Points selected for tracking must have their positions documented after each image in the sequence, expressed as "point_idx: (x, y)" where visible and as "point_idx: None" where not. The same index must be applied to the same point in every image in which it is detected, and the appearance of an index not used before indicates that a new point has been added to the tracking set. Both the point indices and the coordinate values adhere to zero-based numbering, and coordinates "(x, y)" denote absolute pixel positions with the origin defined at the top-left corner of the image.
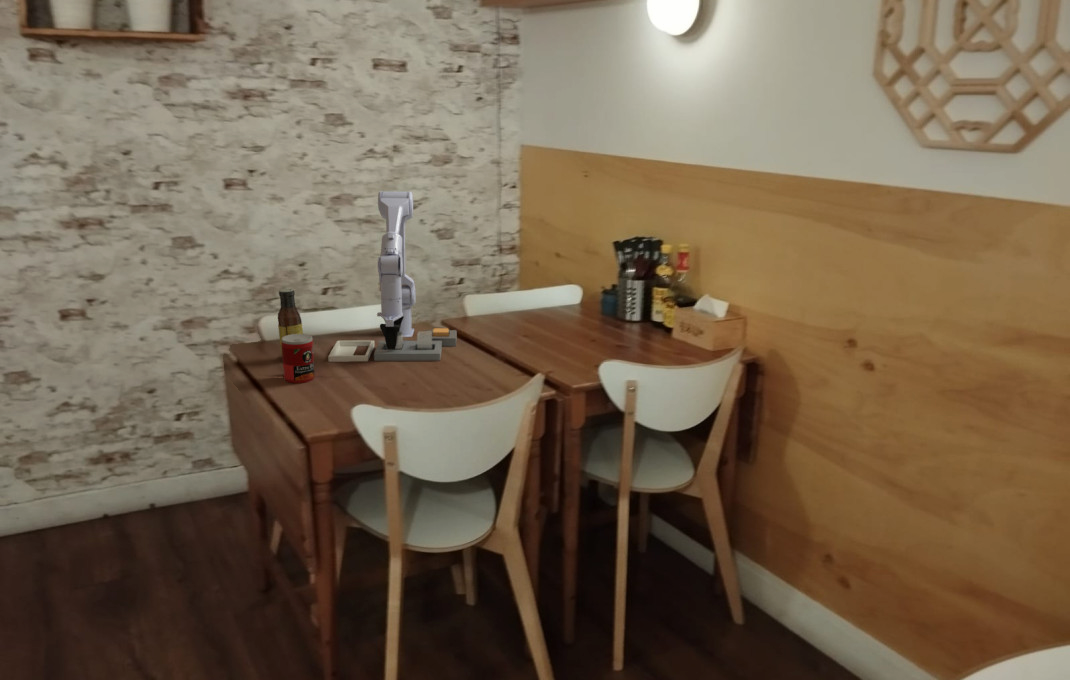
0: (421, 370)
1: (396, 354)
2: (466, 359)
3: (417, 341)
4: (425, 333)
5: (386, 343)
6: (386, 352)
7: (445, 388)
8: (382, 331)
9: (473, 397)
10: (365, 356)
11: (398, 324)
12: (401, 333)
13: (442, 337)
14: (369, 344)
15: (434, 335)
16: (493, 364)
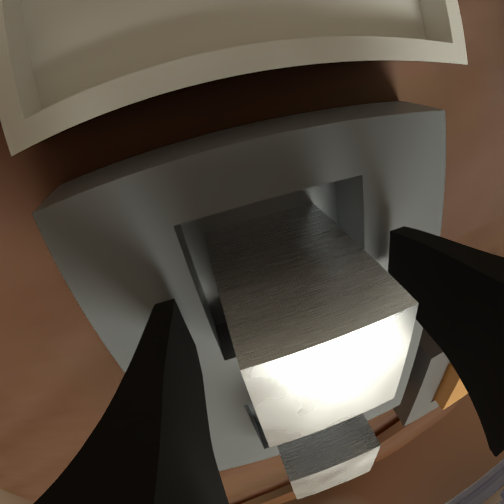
0: (82, 424)
1: (118, 361)
2: (265, 461)
3: (278, 447)
4: (332, 479)
5: (140, 341)
6: (111, 297)
7: (10, 467)
8: (59, 477)
9: (15, 489)
10: (6, 137)
11: (477, 387)
12: (337, 421)
13: (425, 396)
14: (433, 30)
15: (450, 371)
16: (233, 493)
